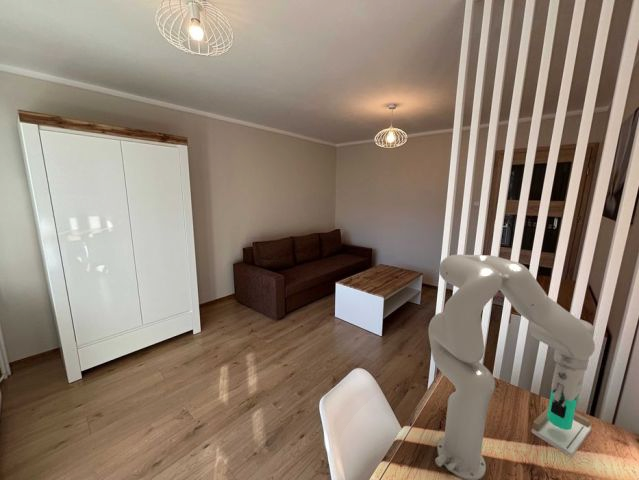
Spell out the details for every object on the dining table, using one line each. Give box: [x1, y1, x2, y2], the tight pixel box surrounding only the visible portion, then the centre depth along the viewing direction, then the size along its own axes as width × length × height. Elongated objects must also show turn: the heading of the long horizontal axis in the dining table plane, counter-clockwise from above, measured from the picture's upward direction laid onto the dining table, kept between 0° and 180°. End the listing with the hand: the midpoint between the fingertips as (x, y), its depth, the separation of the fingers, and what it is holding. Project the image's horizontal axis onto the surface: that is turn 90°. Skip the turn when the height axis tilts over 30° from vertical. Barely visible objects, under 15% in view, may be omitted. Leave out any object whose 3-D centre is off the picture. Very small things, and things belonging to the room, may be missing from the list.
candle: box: [547, 390, 579, 430], centre depth 83 cm, size 6×6×12 cm
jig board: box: [531, 407, 592, 458], centre depth 87 cm, size 18×10×4 cm, turn 122°
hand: (561, 410), depth 83 cm, fingers closed on candle, 4 cm apart
